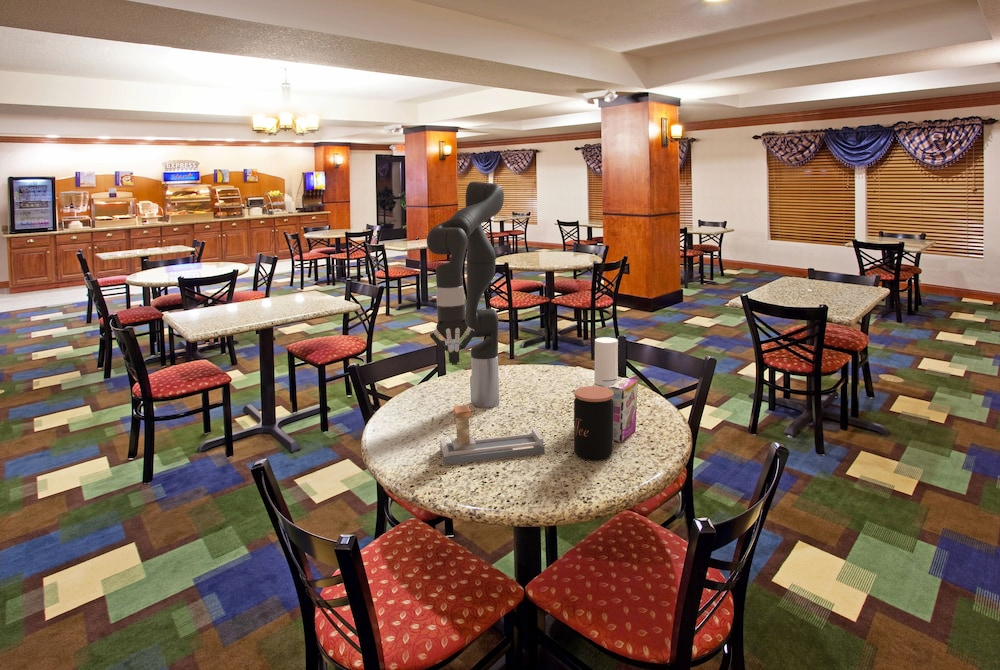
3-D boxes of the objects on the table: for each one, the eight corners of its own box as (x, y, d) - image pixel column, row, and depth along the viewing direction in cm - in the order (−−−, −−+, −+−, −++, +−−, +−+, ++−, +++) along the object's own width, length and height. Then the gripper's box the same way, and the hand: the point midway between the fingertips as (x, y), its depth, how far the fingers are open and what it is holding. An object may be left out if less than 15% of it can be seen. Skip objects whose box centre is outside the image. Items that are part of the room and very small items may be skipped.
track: (444, 465, 163) (444, 451, 162) (440, 450, 172) (439, 437, 171) (544, 453, 168) (544, 440, 168) (534, 439, 178) (534, 426, 177)
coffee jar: (570, 446, 172) (570, 386, 168) (607, 444, 173) (608, 385, 169) (578, 463, 162) (578, 399, 158) (617, 460, 163) (618, 397, 159)
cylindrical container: (616, 419, 192) (617, 343, 186) (593, 418, 193) (594, 342, 188) (616, 411, 199) (617, 337, 193) (594, 410, 200) (595, 337, 194)
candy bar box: (622, 443, 174) (623, 389, 170) (606, 440, 176) (607, 386, 173) (637, 430, 183) (638, 379, 179) (621, 427, 185) (622, 376, 182)
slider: (454, 452, 165) (452, 412, 162) (451, 445, 170) (449, 406, 167) (475, 449, 166) (474, 410, 164) (472, 442, 171) (471, 404, 168)
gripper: (473, 298, 167) (476, 358, 171) (425, 301, 165) (429, 362, 169) (476, 303, 160) (479, 366, 164) (426, 306, 158) (430, 370, 162)
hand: (454, 364), depth 167 cm, fingers closed
